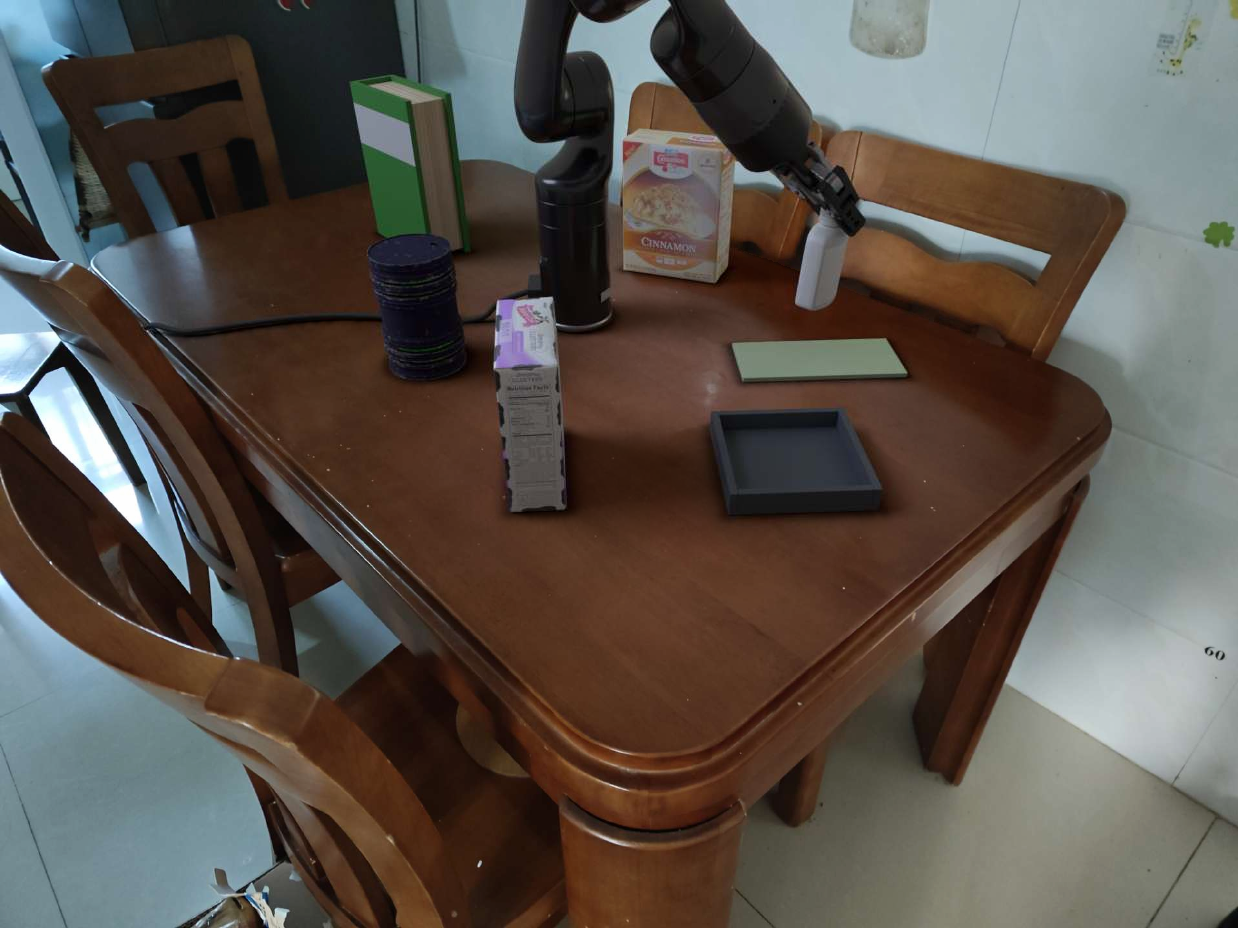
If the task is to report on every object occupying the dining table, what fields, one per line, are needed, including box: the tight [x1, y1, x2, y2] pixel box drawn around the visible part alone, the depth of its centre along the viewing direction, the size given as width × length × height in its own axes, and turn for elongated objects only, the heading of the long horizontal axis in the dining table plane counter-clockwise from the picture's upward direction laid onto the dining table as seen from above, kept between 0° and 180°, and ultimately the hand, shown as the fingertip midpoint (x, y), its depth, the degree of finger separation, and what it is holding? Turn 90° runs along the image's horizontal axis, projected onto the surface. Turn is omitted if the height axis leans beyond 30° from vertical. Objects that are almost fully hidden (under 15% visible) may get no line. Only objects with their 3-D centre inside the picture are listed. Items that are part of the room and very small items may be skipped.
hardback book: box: [349, 74, 472, 254], centre depth 131 cm, size 18×7×24 cm, turn 40°
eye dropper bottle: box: [794, 207, 849, 312], centre depth 83 cm, size 4×6×12 cm
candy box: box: [493, 297, 568, 513], centre depth 81 cm, size 14×6×16 cm, turn 5°
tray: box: [709, 406, 884, 516], centre depth 85 cm, size 15×15×3 cm
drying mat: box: [731, 337, 908, 383], centre depth 103 cm, size 20×9×1 cm, turn 92°
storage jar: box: [366, 233, 467, 382], centre depth 100 cm, size 10×10×15 cm
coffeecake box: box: [622, 127, 736, 284], centre depth 122 cm, size 15×7×20 cm, turn 68°
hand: (844, 221), depth 83 cm, fingers closed on eye dropper bottle, 3 cm apart
